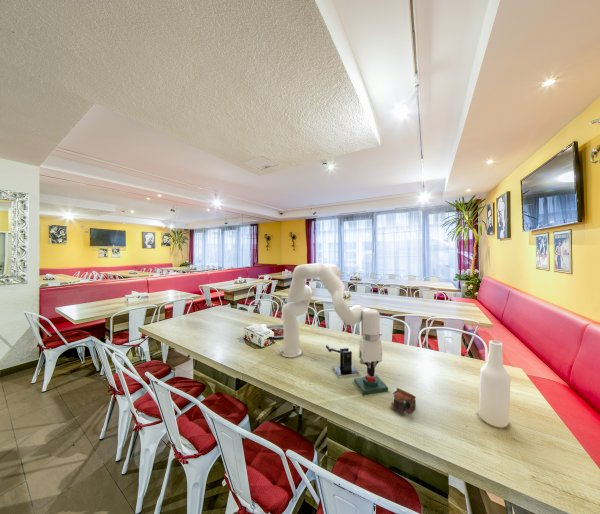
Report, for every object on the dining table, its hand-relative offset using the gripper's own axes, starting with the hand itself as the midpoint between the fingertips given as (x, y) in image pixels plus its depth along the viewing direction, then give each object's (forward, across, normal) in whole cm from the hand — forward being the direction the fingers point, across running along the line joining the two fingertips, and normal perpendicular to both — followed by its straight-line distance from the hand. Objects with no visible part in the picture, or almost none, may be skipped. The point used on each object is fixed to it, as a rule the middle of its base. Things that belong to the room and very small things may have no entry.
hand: (370, 374), depth 111 cm
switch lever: (-5, +11, -15) cm, 19 cm away
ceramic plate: (+6, +35, -78) cm, 86 cm away
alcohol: (+6, -35, +29) cm, 46 cm away
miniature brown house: (+6, -6, +17) cm, 19 cm away
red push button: (+2, 0, 0) cm, 2 cm away
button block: (+6, 0, 0) cm, 6 cm away
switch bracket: (+6, +6, -15) cm, 17 cm away
